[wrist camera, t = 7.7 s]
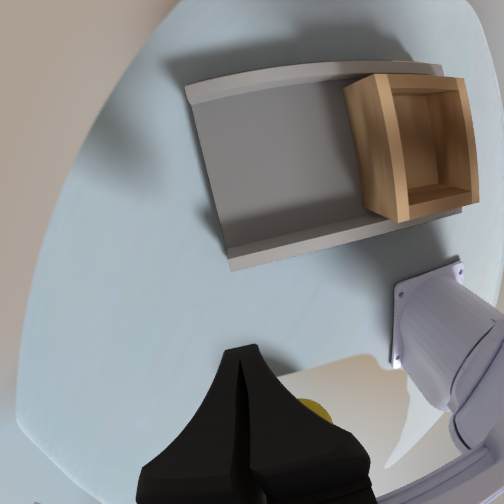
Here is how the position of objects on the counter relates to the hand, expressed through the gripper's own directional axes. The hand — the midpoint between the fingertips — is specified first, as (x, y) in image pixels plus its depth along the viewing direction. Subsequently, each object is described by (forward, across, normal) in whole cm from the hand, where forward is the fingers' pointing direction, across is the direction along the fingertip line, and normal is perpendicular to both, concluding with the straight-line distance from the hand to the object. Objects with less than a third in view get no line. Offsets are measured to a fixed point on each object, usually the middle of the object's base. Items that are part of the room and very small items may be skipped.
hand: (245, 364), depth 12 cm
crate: (+8, -13, -7) cm, 17 cm away
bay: (+9, -8, -7) cm, 14 cm away
